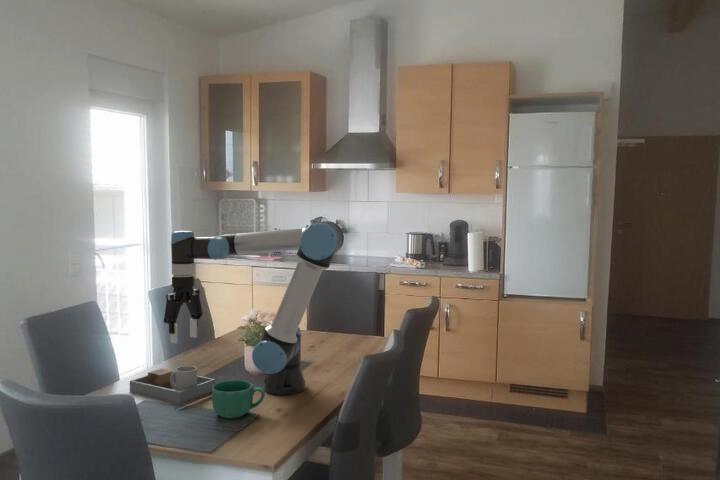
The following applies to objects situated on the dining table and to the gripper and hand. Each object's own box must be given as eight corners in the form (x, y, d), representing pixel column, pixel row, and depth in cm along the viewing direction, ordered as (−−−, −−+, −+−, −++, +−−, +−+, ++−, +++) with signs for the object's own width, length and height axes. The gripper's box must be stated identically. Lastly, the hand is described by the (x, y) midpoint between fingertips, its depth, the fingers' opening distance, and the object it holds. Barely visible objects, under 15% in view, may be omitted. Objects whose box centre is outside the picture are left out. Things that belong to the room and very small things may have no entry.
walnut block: (173, 387, 223) (172, 370, 223) (160, 391, 218) (160, 375, 218) (161, 384, 226) (160, 368, 226) (148, 388, 221) (147, 372, 220)
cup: (190, 398, 212) (190, 372, 211) (164, 395, 214) (164, 370, 214) (201, 391, 219) (200, 366, 218) (175, 389, 221) (175, 364, 221)
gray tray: (215, 391, 221) (215, 379, 221) (180, 405, 206) (179, 392, 206) (166, 380, 232) (166, 369, 232) (129, 393, 218) (129, 380, 217)
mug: (207, 421, 192) (207, 391, 192) (217, 407, 205) (217, 379, 204) (260, 422, 192) (260, 392, 191) (267, 408, 204) (267, 380, 204)
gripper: (196, 271, 225) (197, 332, 227) (151, 278, 206) (152, 345, 208) (212, 272, 222) (213, 335, 223) (167, 280, 203) (168, 347, 205)
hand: (184, 339), depth 216 cm, fingers open, 9 cm apart
